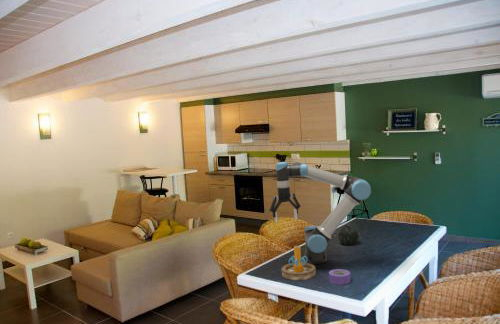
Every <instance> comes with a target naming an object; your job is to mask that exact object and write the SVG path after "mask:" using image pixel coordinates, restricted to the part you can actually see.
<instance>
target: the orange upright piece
mask: <svg viewBox="0 0 500 324" xmlns="http://www.w3.org/2000/svg"><path fill="white" fill-rule="evenodd" d="M293 254H294V255H292V256H290V258H289V259H288V264H290V265H293V267H294V272H297V273H300V272H303V271H304V267H303V265H305V264H306V262H307V261H308V258H307V257H306V256H304V255H303V256H302V249H301V245H295V246H293ZM304 257H305V258H306V261H305V260H304ZM291 263H293V264H291ZM303 263H304V264H303Z"/></svg>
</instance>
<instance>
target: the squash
mask: <svg viewBox="0 0 500 324" xmlns="http://www.w3.org/2000/svg"><path fill="white" fill-rule="evenodd" d="M337 236H338V240H339V243H341V244H342V245H346V246H349V245H350V246H352V245H355V244H357V242H358V240H359V237H360V236H359V233H358V231H357V230H356V229H355V228H354V227H352V226H350V225H347V224H345V225H343V226H342V227H341V229H339V232H338V235H337Z"/></svg>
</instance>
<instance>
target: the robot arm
mask: <svg viewBox="0 0 500 324" xmlns="http://www.w3.org/2000/svg"><path fill="white" fill-rule="evenodd" d="M275 172H276V185H277V195H274V196H273V199H272V202H271V205H270V208H269V212H270V213H272V217H273V218H274V223H276V224H278V212H277V210H278V208H279V207H280V206H281V204H282V203H290V205H291V206H292V207H293V218H294V219H295V220H298V214H299V209H300V208H302V207H301V204H300V202H299V201H298V199H297V197H296V194H295V193H294V192H293V193H291V188H290V178H294V177H295V178H298V177H305V178H308V179H312V180H315V181H317V182H321V183H324V184H327V185H331V186H334V187H338V188H340V190H343V191H344V192H343V193H344V196H343V197H342V199H341V200H340V201H339V203H337V205H336V206H335V207H334V208H333V210H332V211H331V212H330V213H329V215H328V216H327V217H326V218H325V219H324V221H323V222H322V223H321V224H320V225H308V226H305V227H304V240H305V251H304V254H303V256H306V257H307V258H308V261H307V262H306V263H309V264H313V265H320V264H324V263H326V262H328V256H327V254H326V251H325V250H326V249H327V246H328V244H329V243H330V241H331V240H332V234H334V232H335V231H336V230H337V228H338V227H339V226H340V225H341V224H342V222H344V220H345V219H346V218H347V217H348V215H349V214H350V213H351V212H352V210H353V209H354V208H355V206H358V205H361V203H362V202H364V200H366V199H368V198H369V197H370V195H371V194H372V188H371V185H370V183H369V182H368V181H367V180H365V179H363V178H360V177H356V176H350V175H347V174H346V175H341V174H337V173H334V172H331V171H327V170H324V169H321V168H318V167H314V166H311V165H308V164H307V163H302V162H300V161H299V162H298V161H295V162H293V163H292V164H289V163H288V161H280V162H277V163H276V164H275ZM291 198H292V199H291ZM292 200H293V201H294V202H293V201H292ZM303 259H304V260H305V261H306V258H305V257H304V258H303ZM304 260H303V261H304Z"/></svg>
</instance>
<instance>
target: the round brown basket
mask: <svg viewBox="0 0 500 324" xmlns="http://www.w3.org/2000/svg"><path fill="white" fill-rule="evenodd" d="M290 263H291V264H293V262H290ZM303 264H304V263H303ZM303 267H304V271H303V272H300V273H297V272H294V267H293V265H290V264H289V263H288V264H287V263H286V264H284V265H283V266H282V267H281V276H282V277H283V278H284V279H286V280H289V281H307V280H310V279H312V278H314V277H315V276H316V275H317V274H316V271H317V267H316V266H315V264H309V263H306V264H305V265H303Z"/></svg>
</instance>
